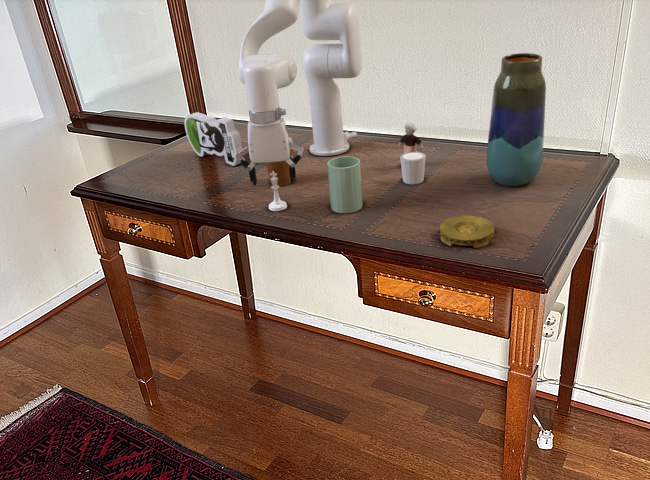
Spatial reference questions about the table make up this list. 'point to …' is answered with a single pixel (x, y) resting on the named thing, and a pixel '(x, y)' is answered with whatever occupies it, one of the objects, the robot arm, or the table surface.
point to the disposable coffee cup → (280, 170)
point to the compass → (467, 231)
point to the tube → (345, 184)
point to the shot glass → (413, 167)
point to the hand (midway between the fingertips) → (273, 182)
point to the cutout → (213, 136)
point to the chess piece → (276, 195)
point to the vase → (517, 120)
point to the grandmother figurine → (410, 139)
